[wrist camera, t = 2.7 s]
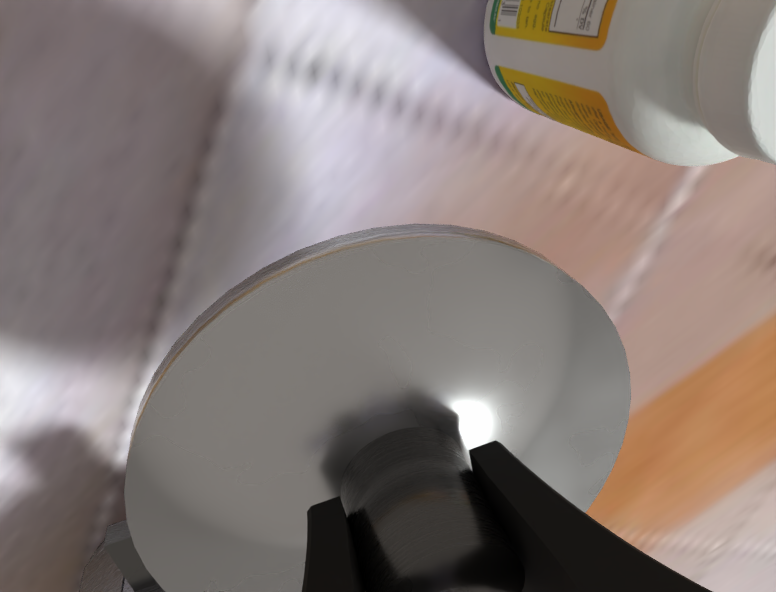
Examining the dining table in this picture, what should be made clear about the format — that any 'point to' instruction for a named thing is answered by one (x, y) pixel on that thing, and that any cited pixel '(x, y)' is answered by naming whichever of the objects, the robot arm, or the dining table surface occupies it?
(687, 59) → the supplement bottle
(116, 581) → the pot
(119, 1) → the dining table surface
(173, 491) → the lid
